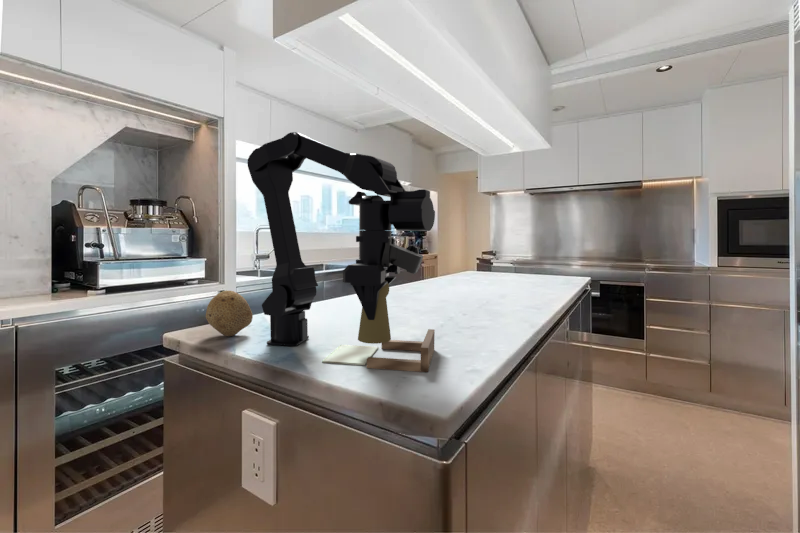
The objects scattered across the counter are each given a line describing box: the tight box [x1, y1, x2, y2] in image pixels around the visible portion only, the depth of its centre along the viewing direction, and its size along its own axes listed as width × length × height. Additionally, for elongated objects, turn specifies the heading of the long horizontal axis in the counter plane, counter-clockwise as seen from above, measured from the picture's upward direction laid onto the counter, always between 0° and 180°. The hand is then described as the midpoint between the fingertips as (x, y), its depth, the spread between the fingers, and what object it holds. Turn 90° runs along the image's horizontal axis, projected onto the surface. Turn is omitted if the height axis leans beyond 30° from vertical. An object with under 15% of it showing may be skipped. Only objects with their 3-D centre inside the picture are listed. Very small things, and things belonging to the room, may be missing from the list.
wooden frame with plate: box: [321, 328, 436, 373], centre depth 69 cm, size 18×12×4 cm
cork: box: [357, 280, 392, 345], centre depth 69 cm, size 6×6×11 cm
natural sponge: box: [205, 290, 254, 337], centre depth 83 cm, size 9×9×10 cm
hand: (374, 317), depth 69 cm, fingers closed on cork, 4 cm apart
